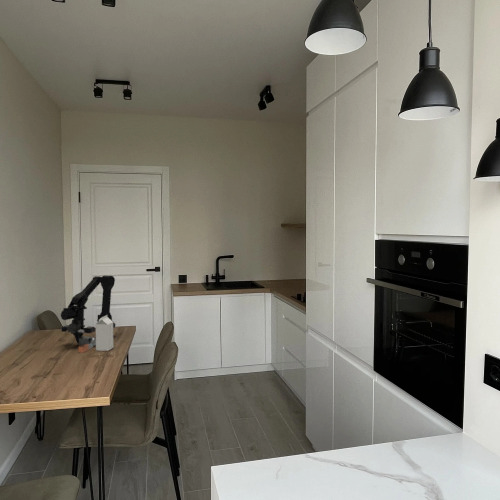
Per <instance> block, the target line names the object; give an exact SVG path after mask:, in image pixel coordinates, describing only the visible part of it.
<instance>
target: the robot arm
mask: <svg viewBox="0 0 500 500" xmlns="http://www.w3.org/2000/svg"><path fill="white" fill-rule="evenodd" d="M115 281H116V279H115V277H114V276H113V275H105V274H104V275H102V276H100V275H99V276H97V275H95V276H93V277H92V279H91V280H90V281H89V282H88V284H87V285H86V286H85V287H84V288H83V289H82V291H80V292H78V293H76V294H75V295H74V296H73V297H72V298H71V301H70V302H69V304H68V306H67V307H64V308H63V310H62V311H61V313H60V318H61V320H63V321H67V320H71V323H69V324H67V325H66V324H65V325H63V326H62V327H61V328H60V331H61V332H62V333H66V332H68V333H70V334H72V335H73V336H74V338H75V341H76V344H78V345H79V338H81V337H83V335H84V334H92V333H94V332H95V333H96V326H87V327H86V325H85V321H86V318H85V310H87V309H88V308H87V306H86V303H87V302H88V300H89V296H90V295H91V294H92V293H93V292H94V291H95V290H96V289H97V287H98V286H99V285H100V286H101V289H102V299H101V300H102V301H101V312H100V314H97V320H96V322H97V323H98V322H99V319H101V317H104V316H106V315H107V317H108V318H109V319H110V320H111V321H112V322H113V329H114V328H116V323H115V322H114V321H113V316H112V314H111V312H110V311H111V299H112V298H111V297H112V290H113V288H114V286H115ZM113 337H115V335H114V334H113Z"/></svg>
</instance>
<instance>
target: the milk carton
mask: <svg viewBox="0 0 500 500" xmlns="http://www.w3.org/2000/svg"><path fill="white" fill-rule="evenodd" d="M112 321H113V320H112ZM112 321H111V320H110V319H109V318H108V317H107V315H106V316H104V317H101V319H99V322H98V321H97V323H96V324H95V337H96V346H95V350H96V351H97V352H99V351H100V352H101V351H102V352H103V351H104V352H105V351H106V352H108V351H110V350H112V349H114V336H113V335H114V328H113V322H114V321H113V322H112Z"/></svg>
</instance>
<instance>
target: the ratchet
mask: <svg viewBox="0 0 500 500" xmlns="http://www.w3.org/2000/svg"><path fill="white" fill-rule="evenodd" d="M90 337H91V338H90V340H89V343H86V344H83V345H81V346H79V345H78V353H82V354H83V353H85V352H87V351H89V350H91V349H92V348H94V347H96V336H95V337H94V336H90Z"/></svg>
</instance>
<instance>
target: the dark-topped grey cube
mask: <svg viewBox="0 0 500 500" xmlns="http://www.w3.org/2000/svg"><path fill="white" fill-rule="evenodd" d="M91 337H92V336H85V335H84V336H82V337H81V338H79V344H78V347H79V346H81V345H83V344H86V343H89V340H90V338H91Z"/></svg>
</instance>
